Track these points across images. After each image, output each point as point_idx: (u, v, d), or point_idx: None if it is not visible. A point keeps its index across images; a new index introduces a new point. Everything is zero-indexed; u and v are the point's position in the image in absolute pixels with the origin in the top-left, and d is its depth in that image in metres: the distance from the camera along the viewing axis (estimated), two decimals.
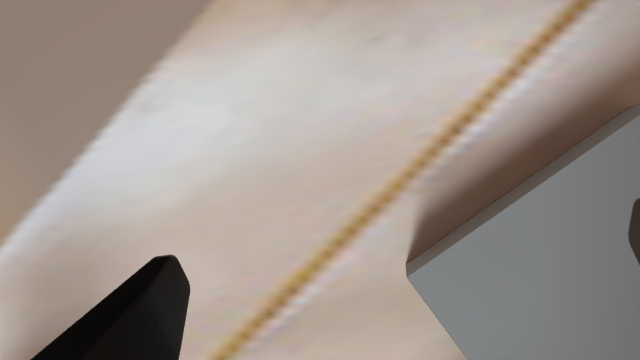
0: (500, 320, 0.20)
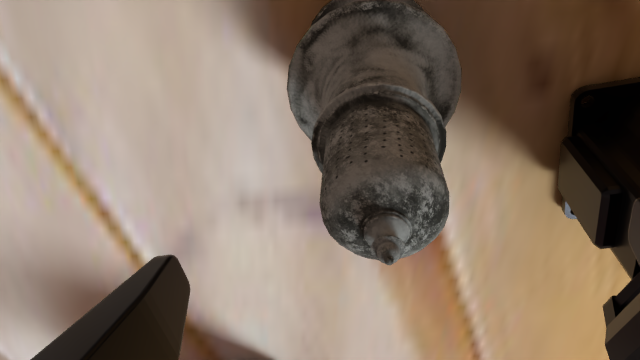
0: None
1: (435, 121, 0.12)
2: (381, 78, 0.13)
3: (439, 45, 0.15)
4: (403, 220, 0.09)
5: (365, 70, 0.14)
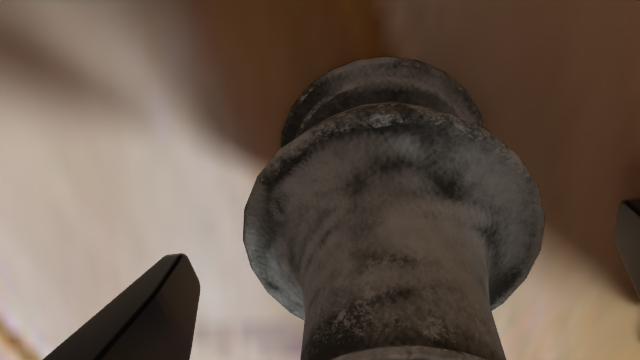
0: None
1: None
2: (413, 298, 0.06)
3: (510, 185, 0.08)
4: None
5: (380, 260, 0.07)
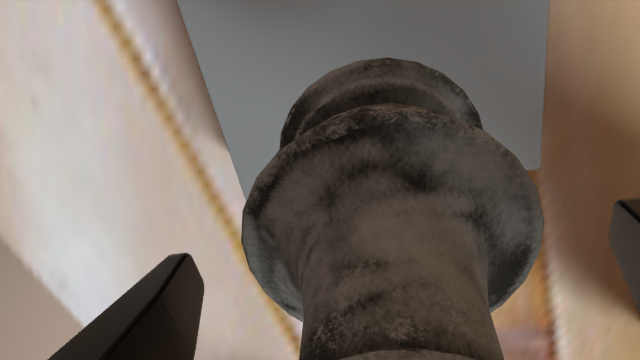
0: None
1: None
2: (382, 301, 0.06)
3: (487, 164, 0.08)
4: None
5: (353, 269, 0.07)
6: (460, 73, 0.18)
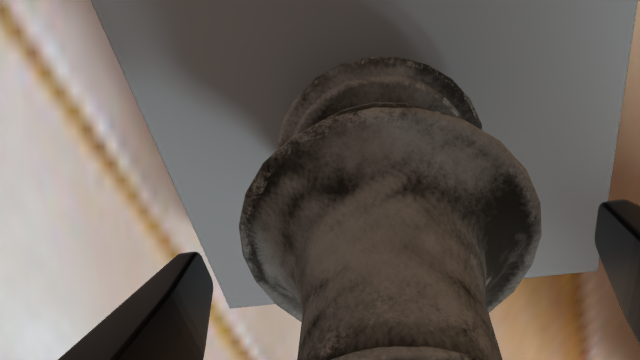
0: None
1: None
2: (319, 322, 0.07)
3: (393, 133, 0.08)
4: None
5: (309, 298, 0.07)
6: None
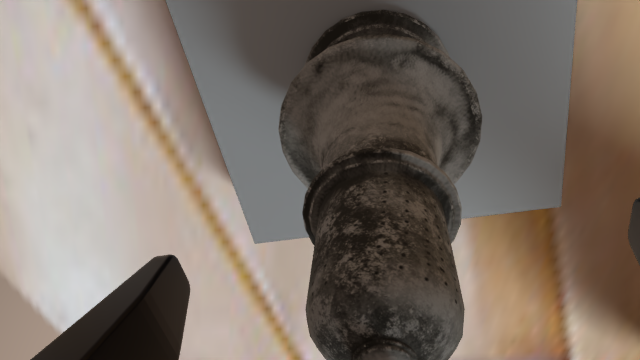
0: None
1: None
2: None
3: None
4: None
5: (433, 152, 0.12)
6: None
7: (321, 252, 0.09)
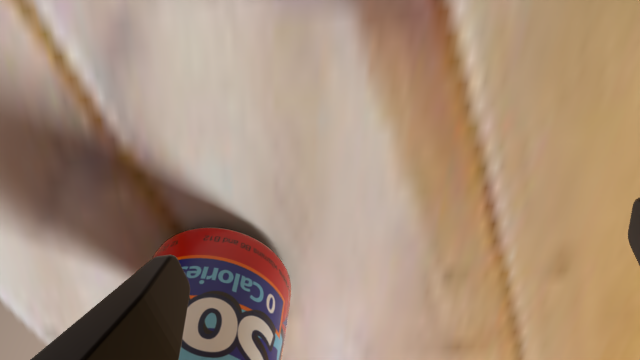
0: None
1: None
2: None
3: None
4: None
5: None
6: None
7: None
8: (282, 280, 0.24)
